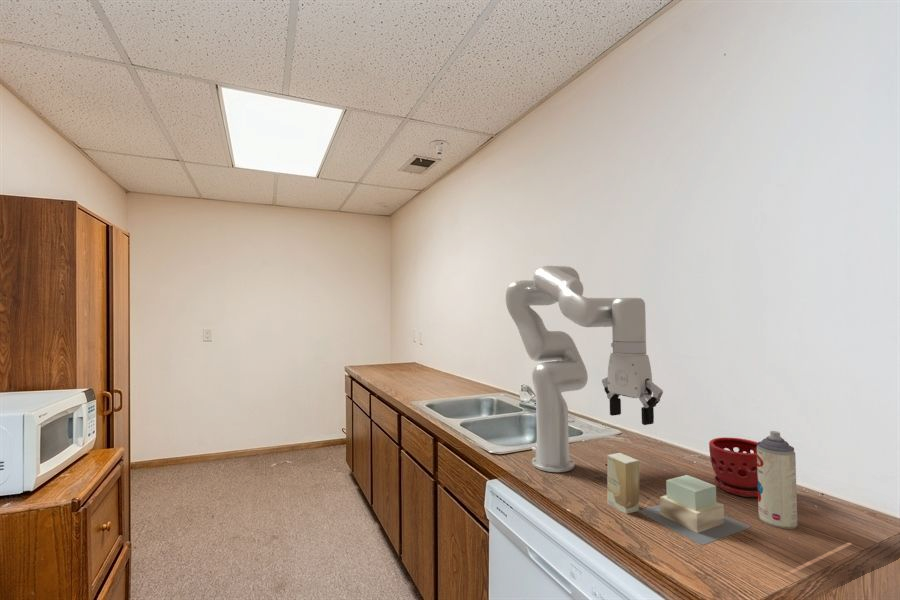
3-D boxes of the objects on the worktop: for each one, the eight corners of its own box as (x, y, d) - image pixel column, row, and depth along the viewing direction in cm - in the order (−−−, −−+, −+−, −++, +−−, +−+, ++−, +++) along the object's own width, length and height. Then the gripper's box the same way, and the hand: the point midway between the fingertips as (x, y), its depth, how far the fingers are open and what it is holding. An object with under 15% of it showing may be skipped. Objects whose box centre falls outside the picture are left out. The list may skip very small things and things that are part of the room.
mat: (636, 512, 99) (636, 511, 99) (682, 499, 106) (682, 497, 106) (702, 547, 85) (702, 545, 85) (751, 528, 91) (750, 527, 91)
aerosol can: (760, 512, 99) (757, 426, 99) (798, 521, 94) (795, 431, 95) (757, 523, 94) (754, 432, 94) (797, 534, 89) (794, 438, 89)
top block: (666, 497, 97) (666, 480, 97) (687, 491, 100) (686, 474, 100) (695, 510, 91) (695, 491, 91) (716, 504, 94) (715, 485, 94)
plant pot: (707, 477, 120) (706, 434, 120) (764, 485, 114) (763, 440, 114) (713, 495, 108) (712, 448, 108) (777, 505, 102) (775, 455, 102)
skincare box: (606, 504, 103) (605, 454, 104) (620, 501, 105) (619, 451, 105) (627, 516, 98) (626, 462, 98) (641, 512, 99) (639, 460, 100)
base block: (660, 514, 97) (659, 496, 98) (686, 506, 101) (685, 489, 101) (697, 532, 89) (696, 513, 89) (724, 523, 93) (723, 505, 93)
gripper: (591, 346, 109) (593, 413, 109) (648, 352, 94) (650, 430, 93) (613, 345, 112) (615, 410, 112) (671, 350, 97) (673, 426, 96)
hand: (630, 419), depth 103 cm, fingers open, 9 cm apart
